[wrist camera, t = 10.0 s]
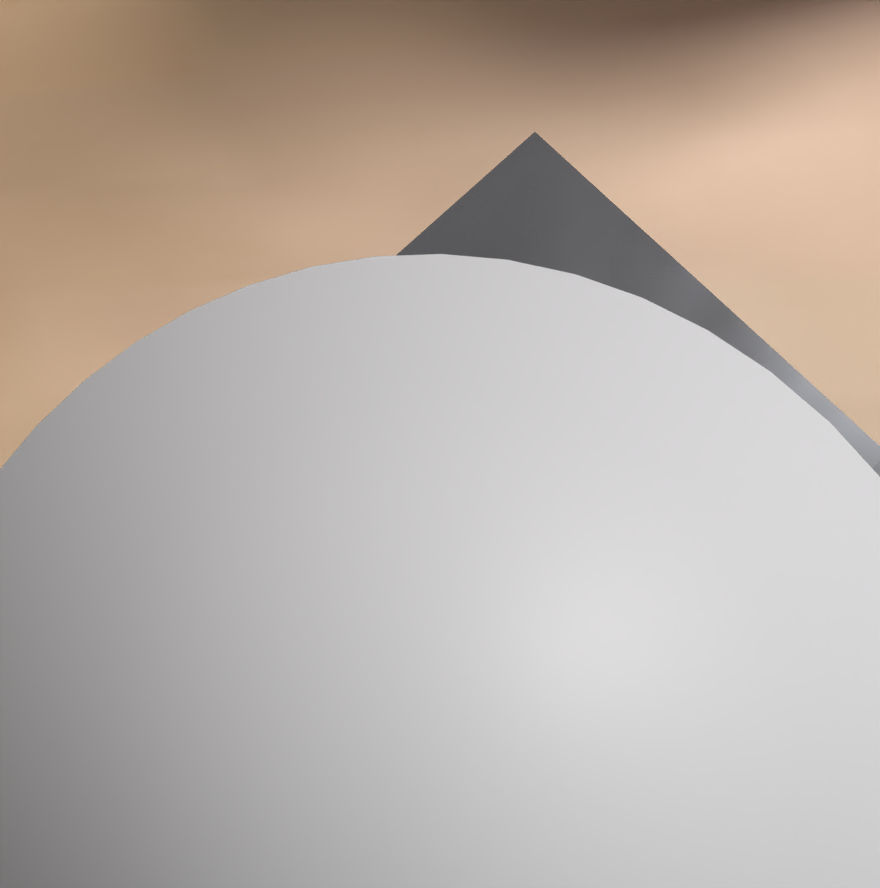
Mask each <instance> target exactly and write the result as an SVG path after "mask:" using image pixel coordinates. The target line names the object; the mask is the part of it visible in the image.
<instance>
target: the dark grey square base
mask: <svg viewBox="0 0 880 888" xmlns="http://www.w3.org/2000/svg"><path fill="white" fill-rule="evenodd" d="M426 254H448V255H459V256H471V257H482V258H494V259H505V260H511V261H516V262H521V263H525V264H530V265H535V266H539V267H544V268H549V269H553V270H558V271H563V272H567V273H572V274H576V275H579V276H582V277H585V278H588V279H590V280H593V281H596V282H599V283H602V284H605V285H608V286H610V287H613V288H616V289H619V290H622V291H625V292H628V293H630V294H633V295H636V296H639V297H642V298H644V299H646V300H648V301H650V302H652V303H654V304H656V305H658V306H660V307H662V308H664V309H666V310H668V311H670V312H672V313H674V314H676V315H678V316H680V317H682V318H684V319H686V320H688V321H690V322H692V323H694V324H696V325H698V326H700V327H702V328H704V329H706V330H708V331H710V332H711V333H713V334H714V335H716V336H717V337H719V338H720V339H722V340H723V341H725V342H726V343H728V344H729V345H731V346H732V347H734V348H736V349H737V350H739V351H740V352H742V353H743V354H745V355H746V356H748V357H749V358H751V359H752V360H754V361H755V362H757V363H758V364H760V365H761V366H763V367H764V368H766V369H767V370H769V371H770V372H772V373H773V374H774V375H775V376H776V377H777V378H779V379H780V380H781V381H782V382H783V383H784V384H786V385H787V386H788V387H789V388H790V389H791V390H793V391H794V392H795V393H796V394H797V395H799V396H800V397H801V398H802V399H803V400H804V401H806V402H807V403H808V404H809V405H810V406H811V407H813V408H814V409H815V410H816V411H817V412H818V413H820V414H821V415H822V416H823V417H824V418H825V419H827V420H828V421H829V422H830V423H831V424H832V425H833V426H834V427H835V428H836V429H837V430H838V432H839V433H840V434H841V435H842V436H843V437H844V438H845V439H846V440H847V441H848V443H849V444H850V445H851V446H852V447H853V448H854V449H855V450H856V451H857V452H858V453H859V455H860V456H861V457H862V458H863V459H864V460H865V461H866V462H867V463H868V464H869V465H870V467H871V468H872V469H873V470H874V471H875V472H876V473H877V474H878V475H879V476H880V446H879V445H878V444H877V443H876V442H875V441H873V440H872V439H871V438H870V437H869V436H868V435H867V434H866V433H865V432H864V431H863V430H861V429H860V428H859V427H858V426H857V425H856V424H855V423H854V422H853V421H852V420H850V419H849V418H848V417H847V416H846V415H845V414H844V413H843V412H842V411H841V410H839V409H838V408H837V407H836V406H835V405H834V404H833V403H832V402H831V401H830V400H828V399H827V398H826V397H825V396H824V395H823V394H822V393H821V392H820V391H819V390H818V389H816V388H815V387H814V386H813V385H812V384H811V383H810V382H809V381H808V380H807V379H805V378H804V377H803V376H802V375H801V374H800V373H799V372H798V371H797V370H796V369H794V368H793V367H792V366H791V365H790V364H789V363H788V362H787V361H786V360H785V359H784V358H782V357H781V356H780V355H779V354H778V353H777V352H776V351H775V350H774V349H773V348H771V347H770V346H769V345H768V344H767V343H766V342H765V341H764V340H763V339H762V338H760V337H759V336H758V335H757V334H756V333H755V332H754V331H753V330H752V329H751V328H749V327H748V326H747V325H746V324H745V323H744V322H743V321H742V320H741V319H740V318H739V317H737V316H736V315H735V314H734V313H733V312H732V311H731V310H730V309H729V308H728V307H726V306H725V305H724V304H723V303H722V302H721V301H720V300H719V299H718V298H717V297H715V296H714V295H713V294H712V293H711V292H710V291H709V290H708V289H707V288H706V287H704V286H703V285H702V284H701V283H700V282H699V281H698V280H697V279H696V278H695V277H694V276H692V275H691V274H690V273H689V272H688V271H687V270H686V269H685V268H684V267H683V266H681V265H680V264H679V263H678V262H677V261H676V260H675V259H674V258H673V257H672V256H670V255H669V254H668V253H667V252H666V251H665V250H664V249H663V248H662V247H661V246H660V245H658V244H657V243H656V242H655V241H654V240H653V239H652V238H651V237H650V236H649V235H647V234H646V233H645V232H644V231H643V230H642V229H641V228H640V227H639V226H638V225H636V224H635V223H634V222H633V221H632V220H631V219H630V218H629V217H628V216H627V215H625V214H624V213H623V212H622V211H621V210H620V209H619V208H618V207H617V206H616V205H615V204H613V203H612V202H611V201H610V200H609V199H608V198H607V197H606V196H605V195H604V194H602V193H601V192H600V191H599V190H598V189H597V188H596V187H595V186H594V185H593V184H591V183H590V182H589V181H588V180H587V179H586V178H585V177H584V176H583V175H582V174H580V173H579V172H578V171H577V170H576V169H575V168H574V167H573V166H572V165H571V164H570V163H568V162H567V161H566V160H565V159H564V158H563V157H562V156H561V155H560V154H559V153H557V152H556V151H555V150H554V149H553V148H552V147H551V146H550V145H549V144H548V143H546V142H545V141H544V140H543V139H542V138H541V137H540V136H539V135H538V134H537V133H536V132H534V133H533V134H532V135H531V136H530V137H529V138H528V139H527V140H525V141H524V142H523V143H522V144H521V145H520V146H519V147H518V148H516V149H515V150H514V151H513V152H512V153H511V154H510V155H509V156H507V157H506V158H505V159H504V160H503V161H502V162H501V163H500V164H498V165H497V166H496V167H495V168H494V169H493V170H492V171H491V172H489V173H488V174H487V175H486V176H485V177H484V178H483V179H482V180H480V181H479V182H478V183H477V184H476V185H475V186H474V187H473V188H471V189H470V190H469V191H468V192H467V193H466V194H465V195H464V196H462V197H461V198H460V199H459V200H458V201H457V202H456V203H455V204H453V205H452V206H451V207H450V208H449V209H448V210H447V211H446V212H444V213H443V214H442V215H441V216H440V217H439V218H438V219H437V220H435V221H434V222H433V223H432V224H431V225H430V226H429V227H428V228H426V229H425V230H424V231H423V232H422V233H421V234H420V235H419V236H417V237H416V238H415V239H414V240H413V241H412V242H411V243H410V244H408V245H407V246H406V247H405V248H404V249H403V250H402V251H401V252H399V253H398V254H397V255H396V256H400V255H426Z"/></svg>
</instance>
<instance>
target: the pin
mask: <svg viewBox="0 0 880 888" xmlns="http://www.w3.org/2000/svg"><path fill="white" fill-rule="evenodd" d="M0 888H880V476H879V475H878V474H877V473H876V472H875V471H874V470H873V469H872V468H871V467H870V465H869V464H868V463H867V462H866V461H865V460H864V459H863V458H862V457H861V456H860V455H859V453H858V452H857V451H856V450H855V449H854V448H853V447H852V446H851V445H850V444H849V443H848V441H847V440H846V439H845V438H844V437H843V436H842V435H841V434H840V433H839V432H838V430H837V429H836V428H835V427H834V426H833V425H832V424H831V423H830V422H829V421H828V420H827V419H825V418H824V417H823V416H822V415H821V414H820V413H818V412H817V411H816V410H815V409H814V408H813V407H811V406H810V405H809V404H808V403H807V402H806V401H804V400H803V399H802V398H801V397H800V396H799V395H797V394H796V393H795V392H794V391H793V390H791V389H790V388H789V387H788V386H787V385H786V384H784V383H783V382H782V381H781V380H780V379H779V378H777V377H776V376H775V375H774V374H773V373H772V372H770V371H769V370H767V369H766V368H764V367H763V366H761V365H760V364H758V363H757V362H755V361H754V360H752V359H751V358H749V357H748V356H746V355H745V354H743V353H742V352H740V351H739V350H737V349H736V348H734V347H732V346H731V345H729V344H728V343H726V342H725V341H723V340H722V339H720V338H719V337H717V336H716V335H714V334H713V333H711V332H710V331H708V330H706V329H704V328H702V327H700V326H698V325H696V324H694V323H692V322H690V321H688V320H686V319H684V318H682V317H680V316H678V315H676V314H674V313H672V312H670V311H668V310H666V309H664V308H662V307H660V306H658V305H656V304H654V303H652V302H650V301H648V300H646V299H644V298H642V297H639V296H636V295H633V294H630V293H628V292H625V291H622V290H619V289H616V288H613V287H610V286H608V285H605V284H602V283H599V282H596V281H593V280H590V279H588V278H585V277H582V276H579V275H576V274H572V273H567V272H563V271H558V270H553V269H549V268H544V267H539V266H535V265H530V264H525V263H521V262H516V261H511V260H505V259H494V258H482V257H471V256H459V255H448V254H426V255H400V256H375V257H369V258H363V259H356V260H350V261H344V262H338V263H332V264H326V265H320V266H314V267H309V268H306V269H302V270H299V271H295V272H292V273H289V274H285V275H282V276H278V277H275V278H272V279H268V280H265V281H261V282H258V283H254V284H251V285H248V286H246V287H244V288H241V289H239V290H237V291H234V292H232V293H230V294H227V295H225V296H223V297H220V298H218V299H216V300H213V301H211V302H209V303H206V304H204V305H202V306H199V307H197V308H195V309H192V310H190V311H189V312H187V313H185V314H183V315H182V316H180V317H178V318H177V319H175V320H173V321H171V322H170V323H168V324H166V325H164V326H163V327H161V328H159V329H158V330H156V331H154V332H152V333H151V334H149V335H147V336H145V337H144V338H142V339H140V340H139V341H137V342H135V343H134V344H133V345H131V346H130V347H129V348H127V349H126V350H125V351H123V352H122V353H121V354H119V355H118V356H117V357H115V358H114V359H113V360H111V361H110V362H109V363H107V364H106V365H105V366H103V367H102V368H101V369H99V370H98V371H97V372H95V373H94V374H93V375H91V376H90V377H89V378H87V379H86V380H85V381H83V382H82V383H81V384H80V385H79V386H78V387H77V388H76V389H75V390H74V391H73V392H72V393H71V394H70V395H69V396H68V397H66V398H65V399H64V400H63V401H62V402H61V403H60V404H59V405H58V406H57V407H56V408H55V409H54V410H53V411H52V412H51V413H50V414H49V415H47V416H46V417H45V418H44V419H43V420H42V421H41V422H40V423H39V424H38V425H37V426H36V427H35V428H34V430H33V431H32V432H31V433H30V434H29V435H28V437H27V438H26V439H25V440H24V441H23V443H22V444H21V445H20V446H19V447H18V449H17V450H16V451H15V452H14V453H13V455H12V456H11V457H10V458H9V459H8V460H7V462H6V463H5V464H4V465H3V466H2V468H1V469H0Z"/></svg>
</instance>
